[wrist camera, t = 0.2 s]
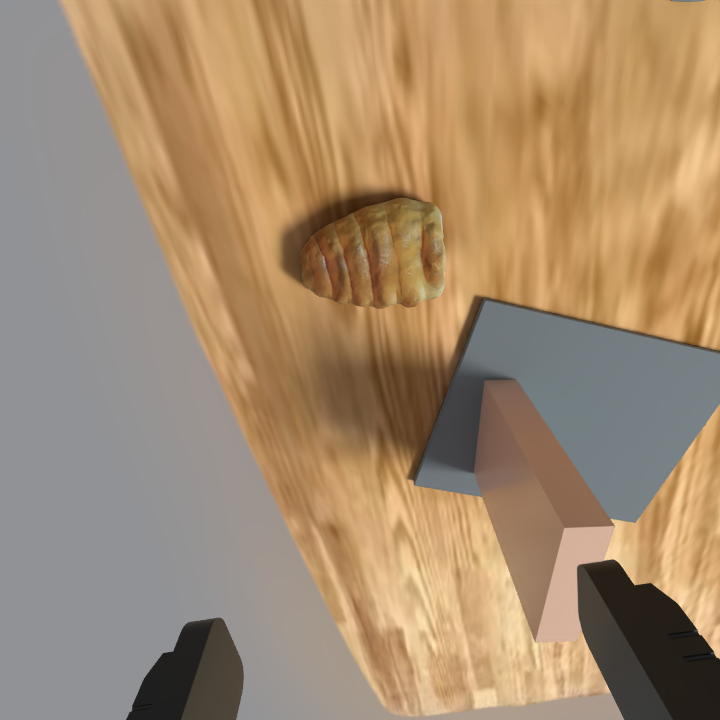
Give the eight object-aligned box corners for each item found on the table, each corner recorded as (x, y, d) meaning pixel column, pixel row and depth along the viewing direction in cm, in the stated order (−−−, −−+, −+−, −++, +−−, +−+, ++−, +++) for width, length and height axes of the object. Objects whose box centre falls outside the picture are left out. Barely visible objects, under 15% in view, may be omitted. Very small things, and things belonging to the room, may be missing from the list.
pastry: (312, 310, 32) (307, 332, 28) (291, 212, 29) (283, 223, 25) (444, 291, 31) (456, 310, 28) (437, 189, 28) (449, 196, 25)
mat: (483, 297, 31) (485, 300, 31) (743, 357, 34) (750, 360, 33) (413, 480, 39) (414, 485, 38) (631, 517, 41) (635, 522, 41)
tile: (473, 473, 38) (535, 642, 25) (484, 380, 34) (564, 528, 21) (503, 472, 38) (580, 640, 25) (518, 379, 34) (617, 525, 21)
